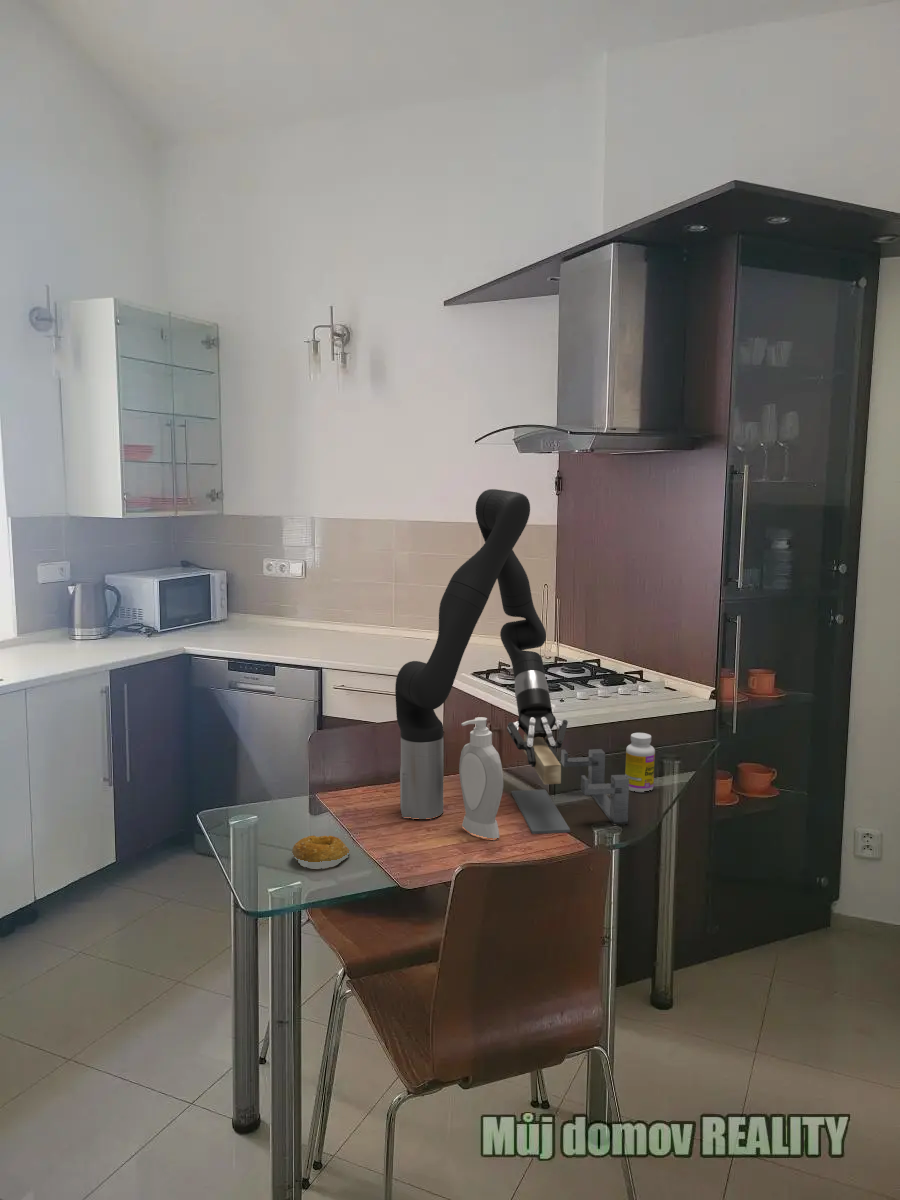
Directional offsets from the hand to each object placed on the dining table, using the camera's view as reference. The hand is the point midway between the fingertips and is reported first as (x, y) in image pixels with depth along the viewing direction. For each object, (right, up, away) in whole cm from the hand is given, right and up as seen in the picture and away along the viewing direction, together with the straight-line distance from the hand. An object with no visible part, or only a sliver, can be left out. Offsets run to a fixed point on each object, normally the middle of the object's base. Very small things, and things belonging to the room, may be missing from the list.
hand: (543, 764), depth 196 cm
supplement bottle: (+24, -9, +19) cm, 33 cm away
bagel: (-45, -15, -20) cm, 51 cm away
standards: (+12, -11, +7) cm, 17 cm away
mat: (-1, -11, +4) cm, 12 cm away
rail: (0, -1, +2) cm, 2 cm away
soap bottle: (-15, -13, -8) cm, 21 cm away
